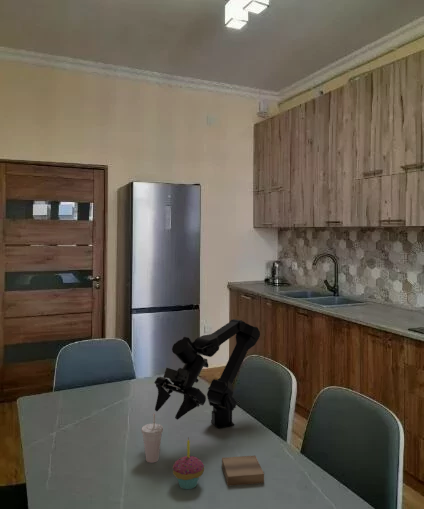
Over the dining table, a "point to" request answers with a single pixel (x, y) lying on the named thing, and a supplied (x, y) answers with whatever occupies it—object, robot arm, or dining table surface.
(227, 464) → the plinth
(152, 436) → the smoothie
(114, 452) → the dining table surface
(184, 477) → the cupcake
